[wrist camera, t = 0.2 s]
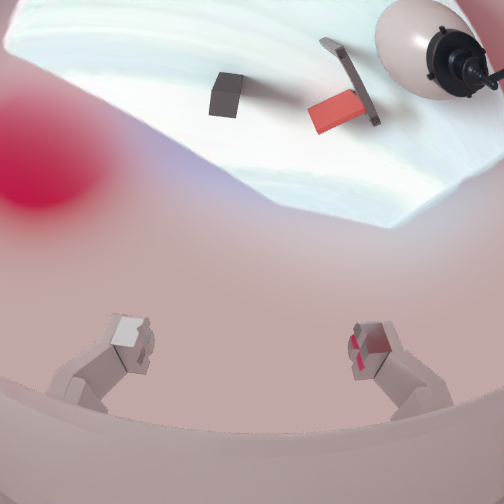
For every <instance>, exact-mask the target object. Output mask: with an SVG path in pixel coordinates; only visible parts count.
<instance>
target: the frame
mask: <svg viewBox="0 0 504 504" xmlns="http://www.w3.org/2000/svg"><path fill="white" fill-rule="evenodd" d="M319 41H320V43H321V45H322V46H323V47H324V48H326V49H327V50H328V51H329V52H331V53H332V54H333V55H335V56H336V57H337V58H338V59H339V61H340V62H341V64H342V66H343V68H344V69H345V71H346V73H347V75H348V77H349V79H350V80H351V82H352V84H353V86H354V88H355V90H356V91H355V92H353V93H354V95H355V96H356V97H357V98H358V99H359V100H360V101H361V103H362V104H363V106H364V108H365V110H366V113H364V114H365V115H366V116H367V118H368V119H369V120H370V122H371V123H372V125H373V126H374V127H375V126H377V125H380V124H381V122H380V120H379V117H378V115H377V113H376V110H375V108H374V106H373V104H372V101H371V99H370V97H369V95H368V93H367V91H366V89H365V87H364V85H363V83H362V81H361V79H360V77H359V75H358V73H357V71H356V69H355V67H354V65H353V63H352V61H351V60H350V58H349V56H348V54H347V52H346V51H345V49H344V47H343V46H342V45H338V44H336V43H335V42H333V41H331V40H330V39H328V38H326V37H325V38H322V39H320V40H319Z"/></svg>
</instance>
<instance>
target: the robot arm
mask: <svg viewBox="0 0 504 504" xmlns="http://www.w3.org/2000/svg"><path fill="white" fill-rule="evenodd" d="M149 326H150V321H149V318H147V317H140V316H133V315H125V314H118V313H114V314H112V315H111V316H110V319H109V321H108V323H107V325H106V327H105V329H104V331H103V333H102V335H101V337H100V339H99V342H94V343H93V344H92V345H90V346H89V347H88V348H86V349H85V350H83V351H82V352H80V353H79V354H78V355H76V356H75V357H74V358H72V359H71V360H69V361H68V362H67V363H65V364H64V365H62V366H61V367H60V368H58V369H57V370H56V371H55V373H54V376H53V378H52V380H51V382H50V384H49V387H48V389H47V391H46V393H45V394H43V393H41V392H38V391H35V390H33V389H31V388H28V387H26V386H23V385H21V384H19V383H17V382H15V381H12V380H10V379H8V378H6V377H4V376H2V375H0V504H504V386H503V387H501V388H498V389H496V390H494V391H491V392H489V393H487V394H484V395H481V396H479V397H476V398H474V399H471V400H468V401H465V402H462V403H459V404H456V405H454V404H453V402H452V399H451V396H450V393H449V391H448V388H447V386H446V383H445V381H444V380H443V379H442V378H440V377H439V376H438V375H437V374H435V373H434V372H433V371H432V370H431V369H429V368H428V367H427V366H426V365H424V364H423V363H422V362H421V361H420V360H418V359H417V358H416V357H414V356H413V355H412V354H411V353H410V352H408V351H404V349H403V347H402V344H401V342H400V339H399V337H398V335H397V332H396V330H395V328H394V325H393V323H392V322H391V321H381V322H364V323H357V324H356V325H355V326H354V329H353V330H354V334H353V335H352V336H351V337H350V339H349V342H348V354H349V358H350V359H351V360H352V361H353V362H354V363H353V365H352V371H353V375H354V379H355V380H367V379H374V381H375V382H376V383H377V384H378V386H379V387H380V388H381V389H382V390H383V391H384V392H385V393H386V395H387V396H388V397H389V398H390V399H391V400H392V401H393V402H394V404H395V405H396V406H397V407H398V408H399V409H398V410H397V411H396V412H395V413H394V414H393V415H392V417H391V418H390V420H391V422H386V423H381V424H375V425H369V426H363V427H356V428H349V429H340V430H331V431H322V432H321V431H320V432H307V433H284V434H249V433H226V432H212V431H201V430H192V429H184V428H176V427H169V426H163V425H157V424H151V423H146V422H141V421H135V420H131V419H126V418H122V417H118V416H113V415H109V414H108V410H107V408H106V407H105V406H104V404H103V403H102V402H101V401H100V400H101V399H102V398H103V397H104V396H105V395H106V394H107V393H108V392H109V391H110V390H111V389H112V388H113V387H114V386H115V385H116V384H117V383H118V382H119V381H120V380H121V379H122V378H123V377H124V376H125V375H126V374H127V372H129V373H136V374H144V375H146V373H147V369H148V366H149V363H150V361H149V358H148V356H149V355H150V354H152V353H153V349H154V342H155V340H154V334H153V331H152V330H151V329H150V328H149Z"/></svg>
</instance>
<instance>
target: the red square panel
mask: <svg viewBox="0 0 504 504" xmlns="http://www.w3.org/2000/svg"><path fill="white" fill-rule="evenodd" d="M307 110H308V112H309V114H310V117H311V119H312V121H313V124H314V126H315V129H316V131H317V133H318V134H321V133H323V132H325V131H328V130H330V129H332V128H334V127H336V126H338V125H340V124H342V123H344V122H346V121H349V120H351V119H353V118H355V117H357V116H360V115H362V114H364V113H366V110H365V108H364V106H363V104H362V103H361V101H360V100H359V99H358V98H357V97H356V96H355V95H354V93H353V92H352V91H351V90H350V89H348V90H346V91H344V92H342V93H340V94H338V95H336V96H334V97H331V98H329V99H327V100H325V101H323V102H321V103H319V104H317V105H315V106H313V107H311V108H309V109H307Z"/></svg>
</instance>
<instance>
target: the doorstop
mask: <svg viewBox="0 0 504 504" xmlns="http://www.w3.org/2000/svg"><path fill="white" fill-rule="evenodd" d="M242 77H243V75H238V74H230V73H222V72H219V75H218V77H217V79H216V82H215V84H214V86H213V89H212V92H211V99H210V108H209V115H212V116H221V117H229V118H236V115H237V109H238V103H239V98H240V92H241V84H242Z"/></svg>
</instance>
